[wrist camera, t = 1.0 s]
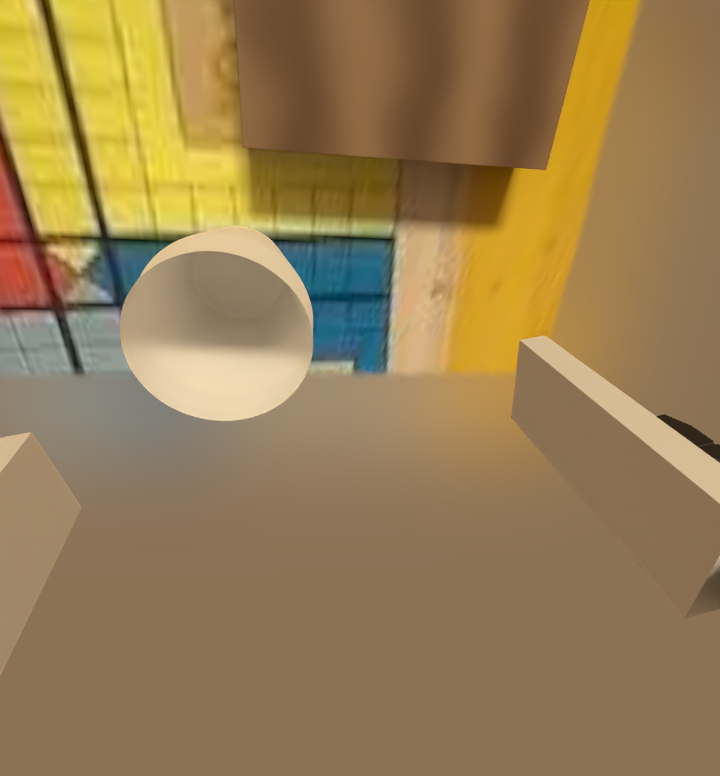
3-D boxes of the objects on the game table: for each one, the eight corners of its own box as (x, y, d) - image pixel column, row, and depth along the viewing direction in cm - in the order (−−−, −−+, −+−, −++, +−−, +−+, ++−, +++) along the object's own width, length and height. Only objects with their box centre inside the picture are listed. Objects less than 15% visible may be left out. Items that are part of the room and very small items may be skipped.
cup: (288, 344, 33) (292, 436, 23) (165, 316, 31) (109, 406, 21) (318, 229, 29) (339, 279, 19) (181, 186, 27) (121, 217, 17)
